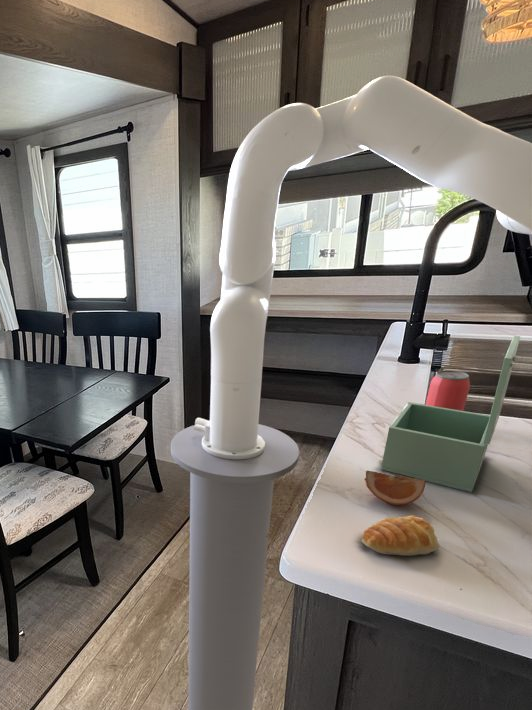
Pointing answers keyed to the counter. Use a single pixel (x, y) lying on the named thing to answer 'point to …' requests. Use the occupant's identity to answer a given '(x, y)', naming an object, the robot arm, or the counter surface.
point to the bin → (437, 445)
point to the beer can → (449, 390)
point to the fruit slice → (394, 487)
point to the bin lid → (505, 384)
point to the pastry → (401, 536)
